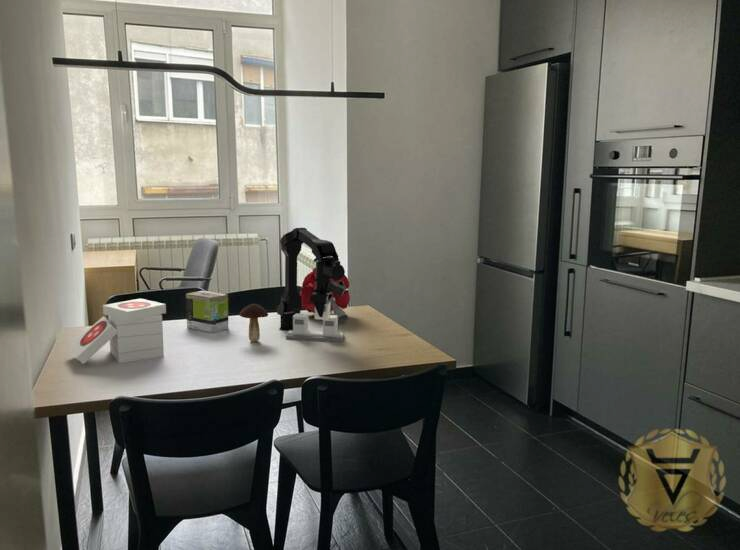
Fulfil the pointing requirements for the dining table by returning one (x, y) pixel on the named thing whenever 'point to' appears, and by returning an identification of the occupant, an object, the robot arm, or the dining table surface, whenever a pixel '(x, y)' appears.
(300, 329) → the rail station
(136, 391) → the dining table surface
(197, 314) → the tea box
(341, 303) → the bouquet
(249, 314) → the decorative mushroom
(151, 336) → the pizza boxes
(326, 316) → the block
